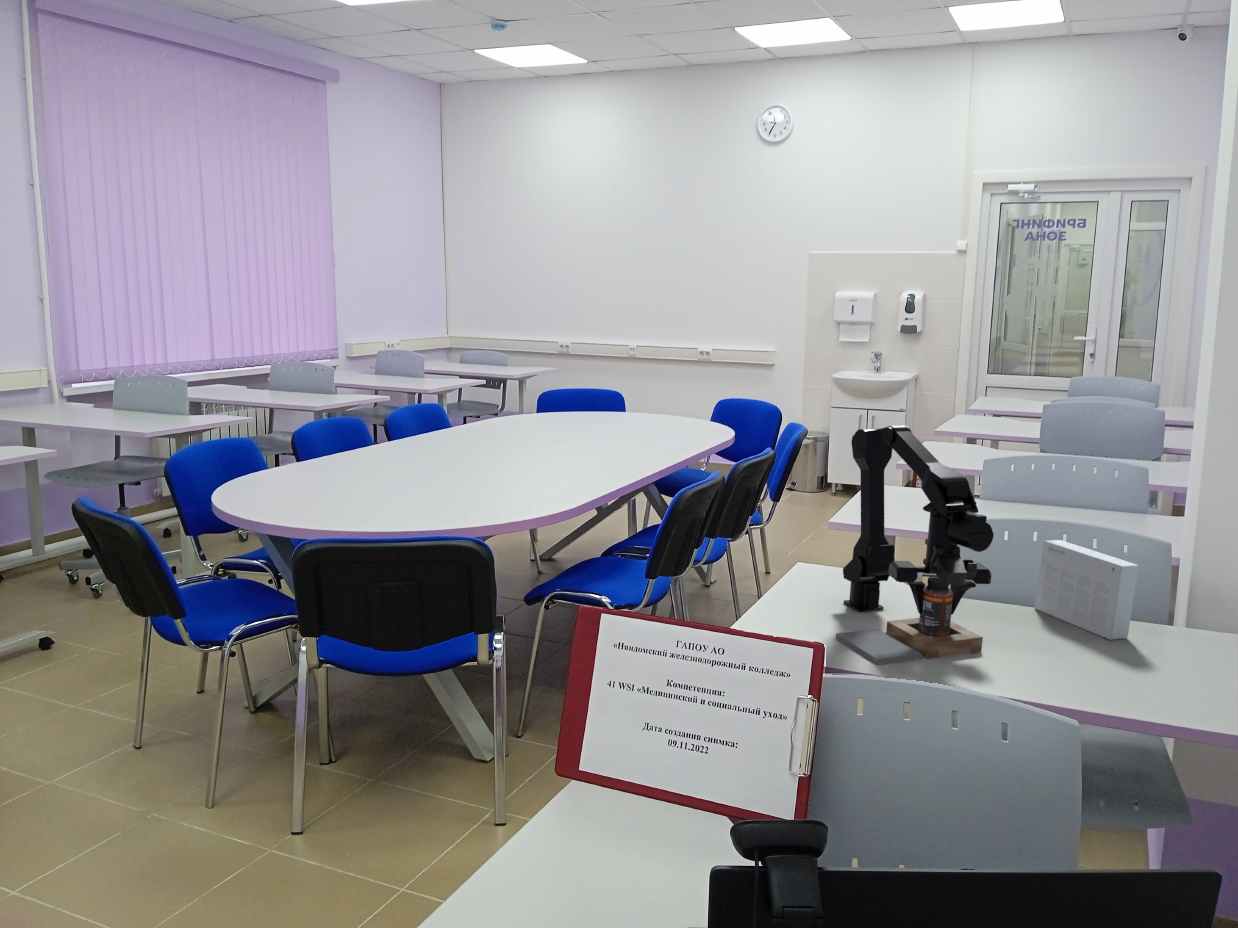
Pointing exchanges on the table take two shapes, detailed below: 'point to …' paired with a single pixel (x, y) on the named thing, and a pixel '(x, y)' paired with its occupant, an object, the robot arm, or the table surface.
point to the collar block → (935, 639)
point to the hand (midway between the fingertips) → (935, 613)
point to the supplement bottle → (936, 609)
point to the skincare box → (1086, 588)
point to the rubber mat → (878, 646)
